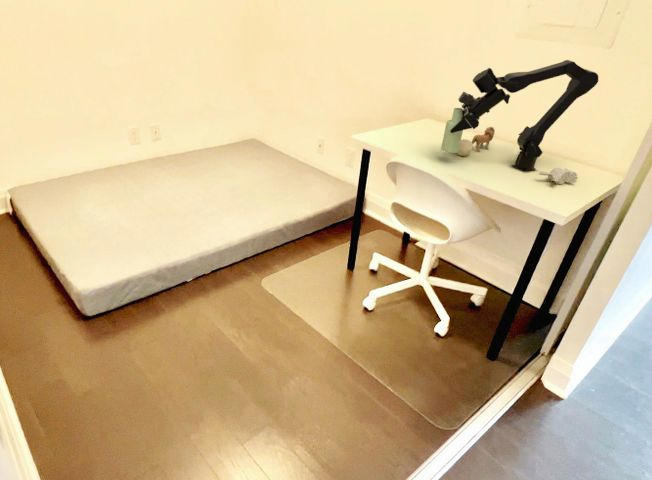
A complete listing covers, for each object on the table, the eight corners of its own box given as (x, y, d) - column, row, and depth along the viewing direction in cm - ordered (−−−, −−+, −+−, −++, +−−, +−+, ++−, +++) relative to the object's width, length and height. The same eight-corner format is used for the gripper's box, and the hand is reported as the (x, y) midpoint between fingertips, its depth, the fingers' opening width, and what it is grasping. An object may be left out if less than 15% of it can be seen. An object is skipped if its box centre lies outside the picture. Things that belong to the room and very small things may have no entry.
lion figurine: (482, 144, 198) (487, 124, 193) (492, 147, 195) (499, 127, 189) (464, 150, 190) (470, 129, 185) (475, 153, 187) (481, 133, 182)
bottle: (461, 152, 172) (471, 110, 163) (446, 153, 171) (455, 111, 162) (452, 146, 178) (461, 106, 169) (437, 148, 176) (446, 107, 167)
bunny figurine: (586, 173, 160) (561, 174, 154) (579, 186, 163) (555, 187, 157) (563, 165, 167) (539, 165, 161) (557, 177, 170) (533, 178, 164)
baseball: (474, 156, 184) (479, 141, 180) (462, 158, 181) (466, 143, 177) (462, 151, 189) (466, 136, 185) (450, 153, 186) (454, 138, 182)
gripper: (473, 80, 167) (437, 107, 175) (477, 89, 152) (438, 119, 161) (489, 102, 170) (453, 129, 178) (495, 114, 155) (455, 142, 163)
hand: (450, 129), depth 170 cm, fingers closed on bottle, 7 cm apart
